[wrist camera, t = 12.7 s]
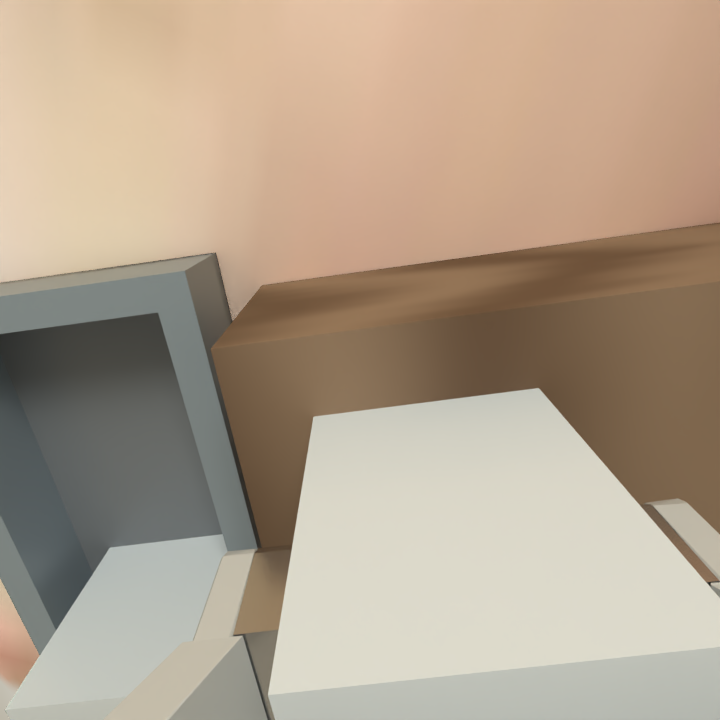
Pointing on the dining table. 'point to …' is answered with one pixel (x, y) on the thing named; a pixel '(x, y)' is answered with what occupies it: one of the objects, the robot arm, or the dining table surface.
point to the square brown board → (493, 358)
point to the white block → (483, 577)
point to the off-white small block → (120, 628)
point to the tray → (111, 426)
